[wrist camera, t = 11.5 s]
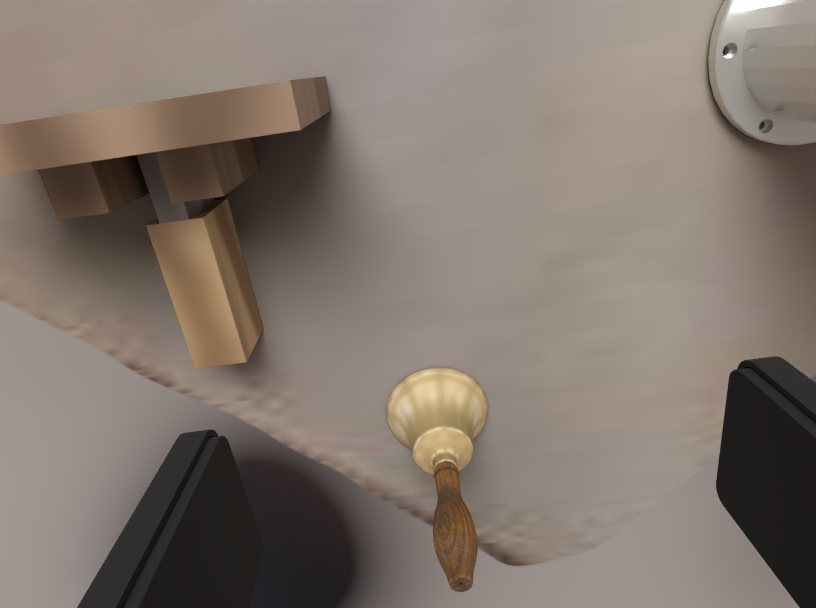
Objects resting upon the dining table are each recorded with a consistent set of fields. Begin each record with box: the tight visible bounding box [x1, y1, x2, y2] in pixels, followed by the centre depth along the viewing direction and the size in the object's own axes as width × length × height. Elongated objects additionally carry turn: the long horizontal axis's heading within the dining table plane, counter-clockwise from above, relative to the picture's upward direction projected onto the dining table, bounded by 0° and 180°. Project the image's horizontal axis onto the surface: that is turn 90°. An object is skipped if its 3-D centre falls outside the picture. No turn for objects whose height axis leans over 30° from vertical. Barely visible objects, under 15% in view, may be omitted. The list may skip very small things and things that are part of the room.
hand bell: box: [387, 368, 488, 592], centre depth 36 cm, size 8×8×16 cm
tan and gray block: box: [137, 152, 263, 369], centre depth 35 cm, size 4×14×5 cm, turn 8°
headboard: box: [0, 77, 331, 220], centre depth 29 cm, size 20×5×12 cm, turn 98°
